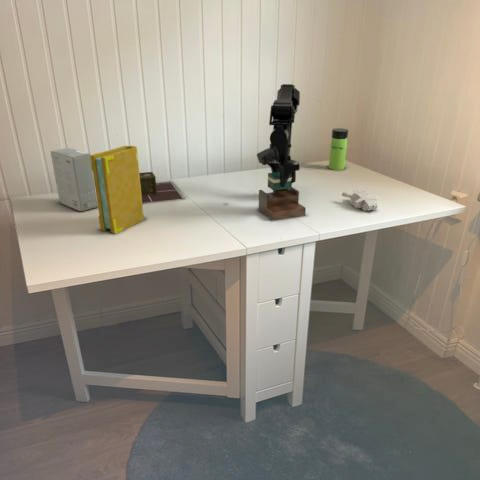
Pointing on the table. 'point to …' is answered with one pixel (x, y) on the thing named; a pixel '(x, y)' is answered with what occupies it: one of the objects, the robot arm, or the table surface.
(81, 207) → the hard drive box
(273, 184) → the tea packet
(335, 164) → the tumbler
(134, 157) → the book
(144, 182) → the wooden crate
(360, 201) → the bunny figurine
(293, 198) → the step shelf
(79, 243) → the table surface
